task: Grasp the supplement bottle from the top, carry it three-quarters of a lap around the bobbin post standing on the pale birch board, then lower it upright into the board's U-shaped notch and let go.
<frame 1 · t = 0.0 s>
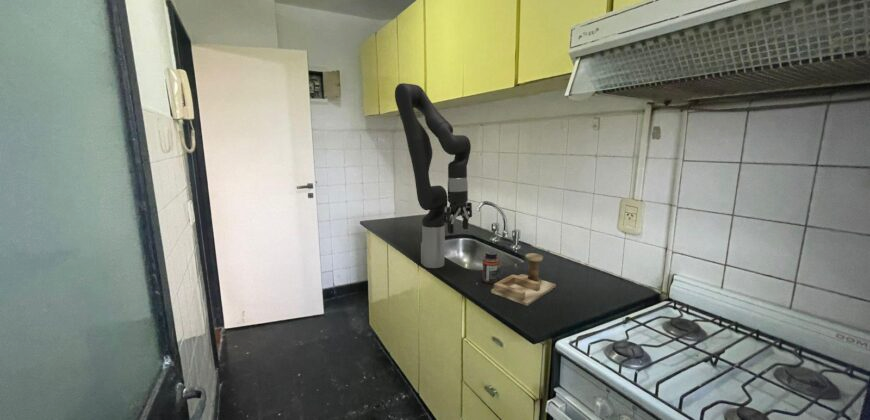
hand: (458, 231, 136), 17 cm above the worktop, tool pointing down, fingers open, 8 cm apart
bobbin post: (532, 284, 129), resting on notched board
supplement bottle: (490, 281, 132), on the worktop
notched board: (523, 289, 125), on the worktop
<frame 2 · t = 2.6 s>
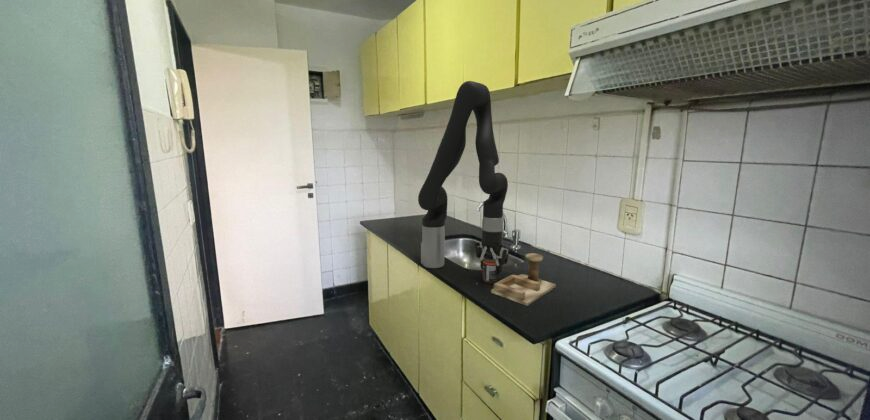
hand: (490, 271, 131), 4 cm above the worktop, tool pointing down, fingers closed on supplement bottle, 6 cm apart
supplement bottle: (490, 281, 132), on the worktop, touching gripper
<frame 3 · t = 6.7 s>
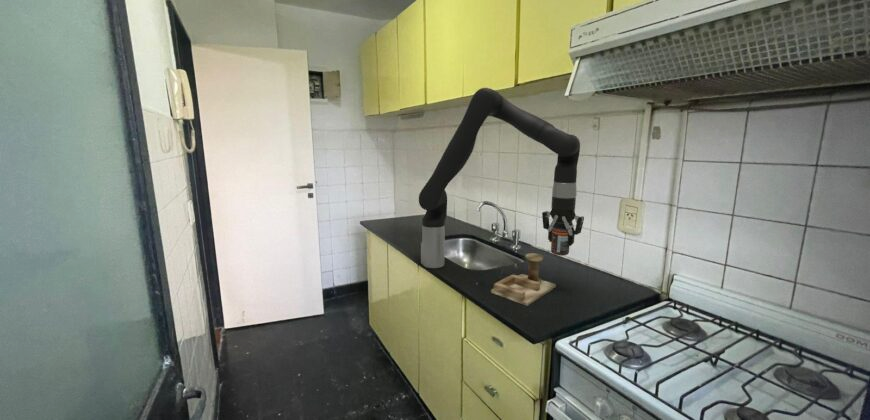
hand: (560, 243, 122), 17 cm above the worktop, tool pointing down, fingers closed on supplement bottle, 6 cm apart
supplement bottle: (559, 253, 122), point 13 cm above the worktop, touching gripper
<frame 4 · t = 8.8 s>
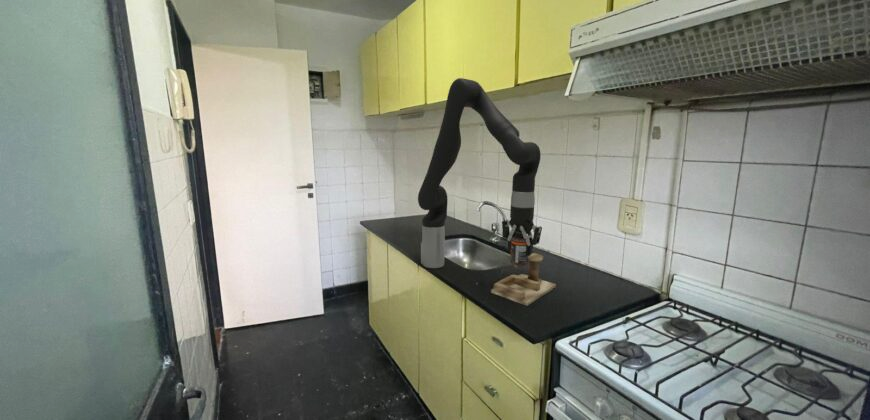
hand: (519, 253, 119), 15 cm above the worktop, tool pointing down, fingers closed on supplement bottle, 6 cm apart
supplement bottle: (519, 263, 120), point 11 cm above the worktop, touching gripper
when the fingers open (5 cm above the worktop, at t = 10.8 s): supplement bottle stays where it is, resting on notched board.
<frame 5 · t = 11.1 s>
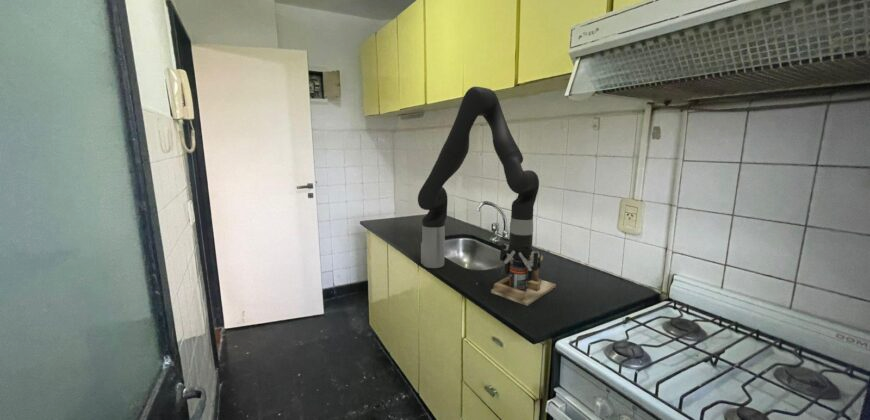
hand: (518, 276, 120), 6 cm above the worktop, tool pointing down, fingers open, 8 cm apart
supplement bottle: (517, 290, 122), point 1 cm above the worktop, touching notched board
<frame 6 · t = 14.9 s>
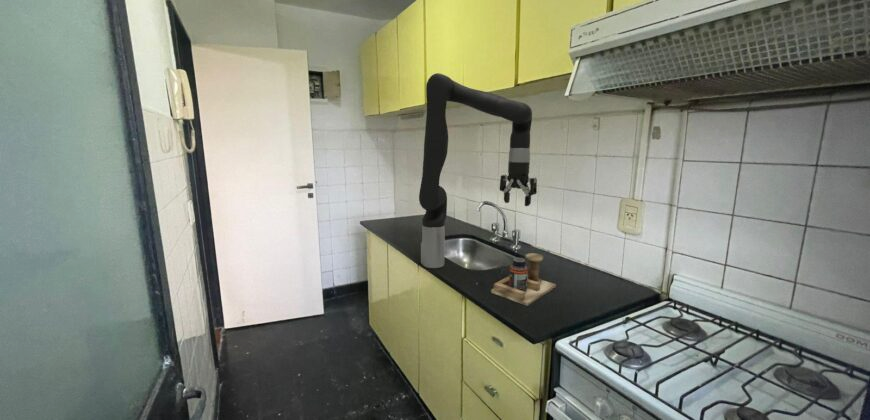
hand: (516, 204, 132), 28 cm above the worktop, tool pointing down, fingers open, 8 cm apart
nothing on the worktop moved.
at the end: supplement bottle 0.2 cm from the target spot on the notched board, point 0.8 cm above the notched board's base; supplement bottle tilted 0°; the gripper is holding nothing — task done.
